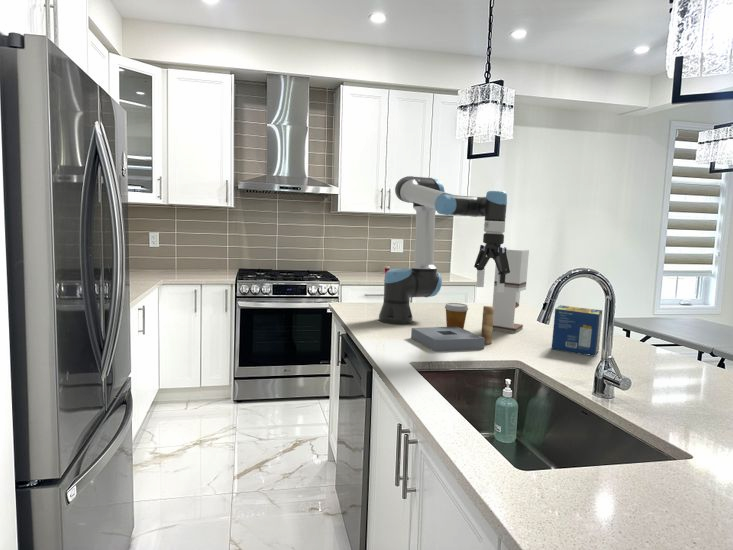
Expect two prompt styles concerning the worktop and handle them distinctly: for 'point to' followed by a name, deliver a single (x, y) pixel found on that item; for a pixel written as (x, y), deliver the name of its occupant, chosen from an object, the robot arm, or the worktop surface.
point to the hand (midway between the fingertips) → (489, 289)
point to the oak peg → (487, 324)
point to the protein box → (576, 330)
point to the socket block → (447, 338)
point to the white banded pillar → (510, 292)
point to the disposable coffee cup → (456, 314)
